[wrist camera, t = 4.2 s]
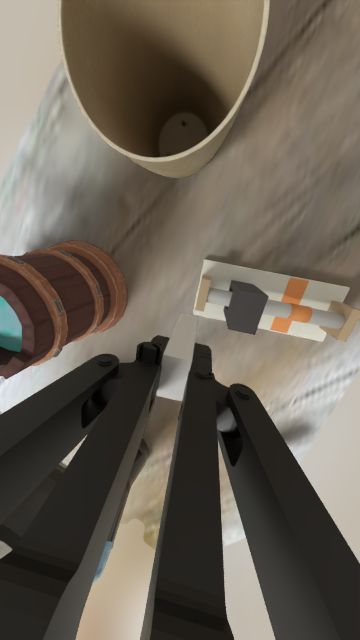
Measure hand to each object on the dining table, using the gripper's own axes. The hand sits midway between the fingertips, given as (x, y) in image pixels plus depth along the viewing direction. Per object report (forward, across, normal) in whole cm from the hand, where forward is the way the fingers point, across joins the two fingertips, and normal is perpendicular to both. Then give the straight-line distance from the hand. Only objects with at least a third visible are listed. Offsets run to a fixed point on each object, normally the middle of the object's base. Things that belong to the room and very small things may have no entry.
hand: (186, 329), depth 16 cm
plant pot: (+21, -6, +20) cm, 29 cm away
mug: (+20, -24, -5) cm, 32 cm away
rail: (+20, +12, 0) cm, 24 cm away
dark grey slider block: (+18, +7, 0) cm, 20 cm away
